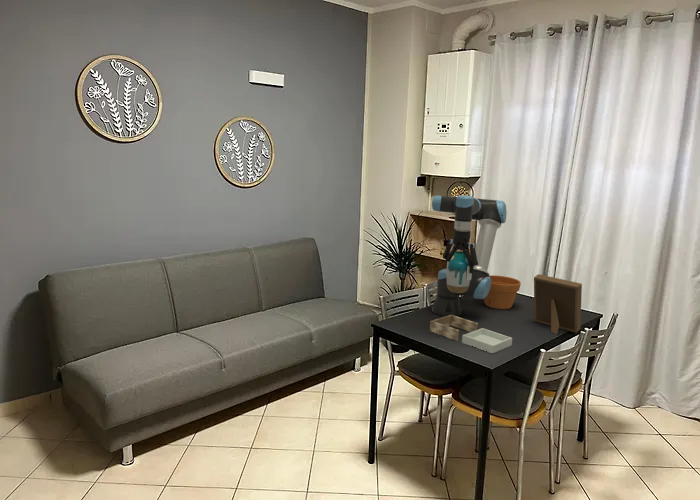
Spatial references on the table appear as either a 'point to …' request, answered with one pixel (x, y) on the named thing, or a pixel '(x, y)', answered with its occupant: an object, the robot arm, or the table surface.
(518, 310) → the table surface
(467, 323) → the wooden open crate
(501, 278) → the flower pot
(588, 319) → the table surface
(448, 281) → the vase
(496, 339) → the tray
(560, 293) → the photo frame
